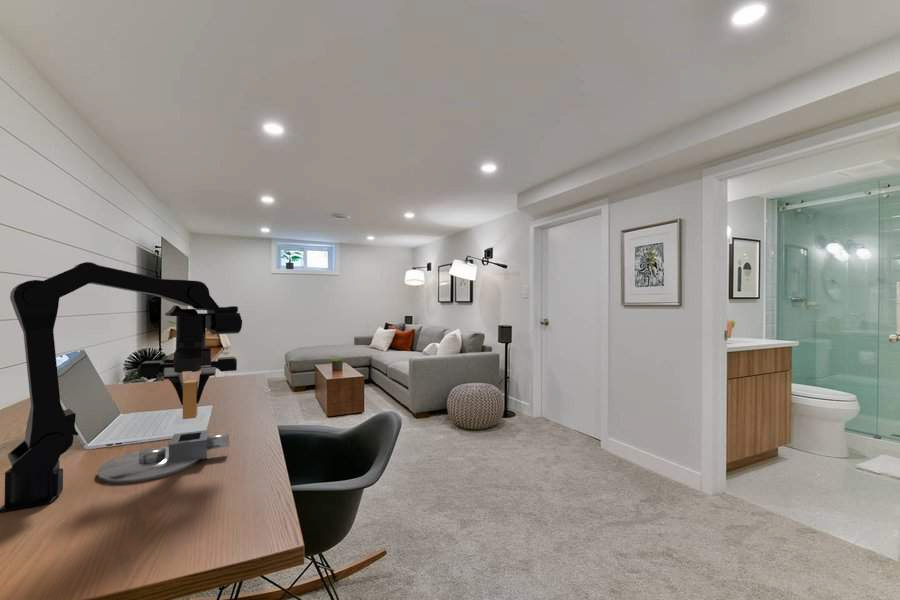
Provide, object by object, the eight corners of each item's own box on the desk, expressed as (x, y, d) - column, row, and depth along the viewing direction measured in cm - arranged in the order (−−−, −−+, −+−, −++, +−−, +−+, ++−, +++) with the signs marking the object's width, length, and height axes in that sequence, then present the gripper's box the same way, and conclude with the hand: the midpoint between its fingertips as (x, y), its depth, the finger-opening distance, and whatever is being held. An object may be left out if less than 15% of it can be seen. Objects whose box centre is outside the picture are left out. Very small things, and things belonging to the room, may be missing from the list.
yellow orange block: (182, 419, 90) (183, 383, 90) (184, 415, 93) (185, 380, 93) (195, 417, 91) (196, 382, 91) (197, 413, 94) (197, 379, 95)
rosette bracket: (85, 490, 77) (85, 463, 77) (111, 459, 92) (111, 436, 93) (227, 467, 88) (228, 443, 88) (229, 442, 104) (229, 422, 104)
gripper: (132, 339, 81) (130, 417, 81) (236, 336, 90) (236, 406, 89) (143, 336, 91) (142, 405, 91) (237, 333, 100) (236, 397, 99)
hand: (190, 404), depth 92 cm, fingers closed on yellow orange block, 2 cm apart
